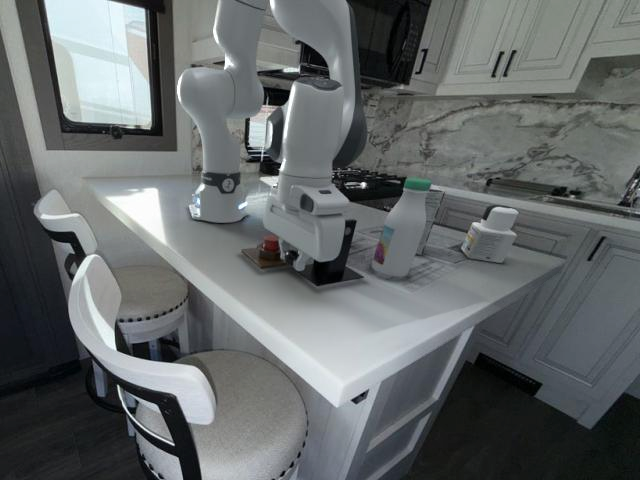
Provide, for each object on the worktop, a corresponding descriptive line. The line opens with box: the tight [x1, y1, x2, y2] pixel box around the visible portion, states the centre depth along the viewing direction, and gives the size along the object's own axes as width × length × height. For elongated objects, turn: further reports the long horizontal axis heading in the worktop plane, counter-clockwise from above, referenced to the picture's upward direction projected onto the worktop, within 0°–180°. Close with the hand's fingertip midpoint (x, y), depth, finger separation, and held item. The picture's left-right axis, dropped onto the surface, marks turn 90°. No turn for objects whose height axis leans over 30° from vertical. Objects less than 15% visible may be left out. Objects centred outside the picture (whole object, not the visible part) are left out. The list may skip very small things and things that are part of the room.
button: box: [262, 234, 279, 251], centre depth 69 cm, size 4×4×2 cm
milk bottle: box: [370, 177, 433, 278], centre depth 64 cm, size 8×8×20 cm
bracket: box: [291, 218, 365, 287], centre depth 62 cm, size 12×9×13 cm
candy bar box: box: [415, 183, 446, 256], centre depth 80 cm, size 11×5×16 cm, turn 168°
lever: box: [284, 218, 347, 267], centre depth 60 cm, size 14×3×3 cm
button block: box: [241, 242, 288, 270], centre depth 70 cm, size 10×10×4 cm
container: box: [460, 204, 520, 264], centre depth 78 cm, size 8×8×13 cm
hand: (291, 264), depth 60 cm, fingers closed on lever, 3 cm apart
